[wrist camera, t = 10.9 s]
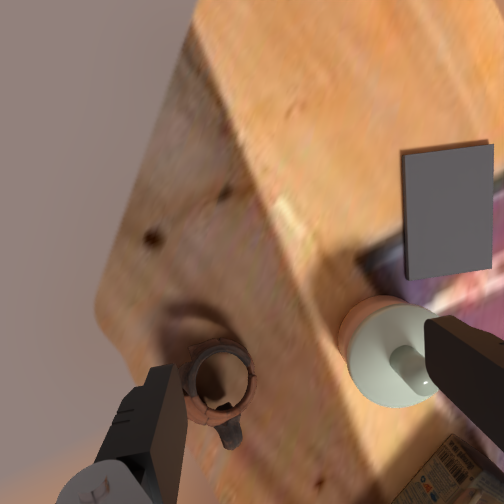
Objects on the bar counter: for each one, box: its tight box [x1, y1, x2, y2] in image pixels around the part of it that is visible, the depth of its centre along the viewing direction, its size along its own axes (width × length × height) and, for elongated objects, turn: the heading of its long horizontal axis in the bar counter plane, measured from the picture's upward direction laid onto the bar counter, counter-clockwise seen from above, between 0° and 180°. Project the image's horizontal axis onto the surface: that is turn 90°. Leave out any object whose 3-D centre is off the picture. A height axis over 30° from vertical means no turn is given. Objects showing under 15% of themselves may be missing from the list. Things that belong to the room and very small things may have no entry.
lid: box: [347, 303, 439, 408], centre depth 33 cm, size 11×11×5 cm
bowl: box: [338, 295, 408, 364], centre depth 38 cm, size 10×10×5 cm
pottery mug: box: [178, 338, 257, 450], centre depth 38 cm, size 12×9×8 cm
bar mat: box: [402, 144, 494, 281], centre depth 39 cm, size 14×10×1 cm
